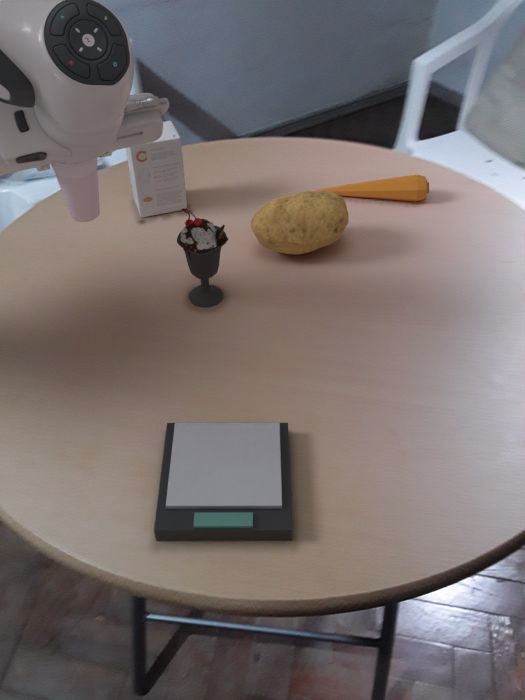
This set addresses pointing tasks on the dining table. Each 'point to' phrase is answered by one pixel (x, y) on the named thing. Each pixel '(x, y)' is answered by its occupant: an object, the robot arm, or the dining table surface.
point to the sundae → (203, 257)
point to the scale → (225, 483)
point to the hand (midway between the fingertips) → (72, 157)
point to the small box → (158, 174)
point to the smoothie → (79, 187)
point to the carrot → (387, 189)
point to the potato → (301, 222)
